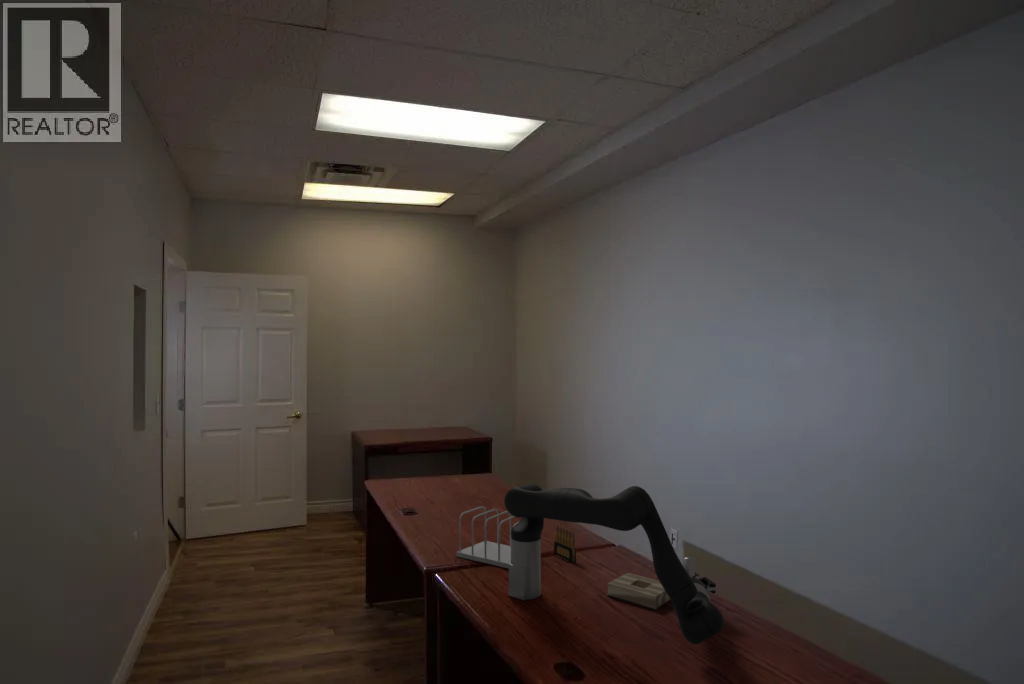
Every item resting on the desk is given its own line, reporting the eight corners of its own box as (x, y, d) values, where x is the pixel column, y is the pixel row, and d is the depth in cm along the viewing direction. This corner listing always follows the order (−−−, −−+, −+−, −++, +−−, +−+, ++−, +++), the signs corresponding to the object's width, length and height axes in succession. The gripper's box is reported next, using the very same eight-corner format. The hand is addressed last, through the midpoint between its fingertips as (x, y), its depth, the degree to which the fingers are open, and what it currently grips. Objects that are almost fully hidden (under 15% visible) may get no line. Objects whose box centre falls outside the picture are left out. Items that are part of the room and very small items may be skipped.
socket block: (655, 610, 188) (655, 596, 188) (607, 596, 198) (607, 583, 198) (674, 598, 197) (674, 584, 197) (627, 585, 207) (627, 572, 207)
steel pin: (691, 612, 186) (692, 560, 186) (681, 609, 188) (681, 557, 188) (696, 609, 189) (696, 557, 189) (686, 606, 191) (686, 555, 191)
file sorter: (541, 557, 234) (541, 514, 234) (513, 571, 219) (514, 525, 219) (484, 545, 248) (485, 504, 248) (456, 557, 233) (456, 513, 233)
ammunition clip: (553, 554, 236) (553, 521, 236) (557, 554, 237) (558, 521, 237) (571, 563, 227) (572, 529, 227) (576, 562, 228) (576, 528, 228)
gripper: (721, 585, 173) (713, 563, 190) (667, 581, 176) (663, 560, 193) (721, 613, 173) (712, 589, 190) (667, 609, 176) (663, 585, 193)
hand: (688, 574), depth 191 cm, fingers closed on steel pin, 3 cm apart
